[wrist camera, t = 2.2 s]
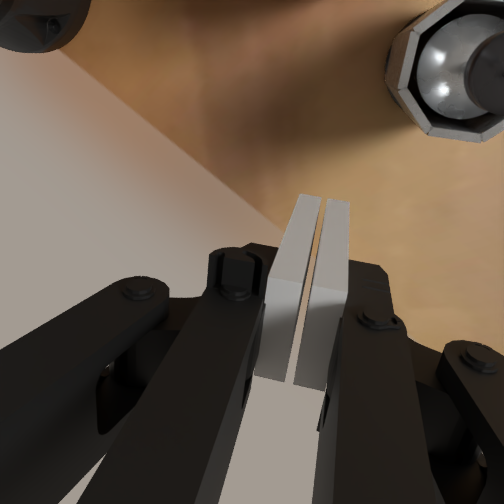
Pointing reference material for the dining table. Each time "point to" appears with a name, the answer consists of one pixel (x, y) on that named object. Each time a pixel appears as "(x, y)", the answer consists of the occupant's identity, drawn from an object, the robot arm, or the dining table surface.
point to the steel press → (405, 68)
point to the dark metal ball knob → (464, 68)
